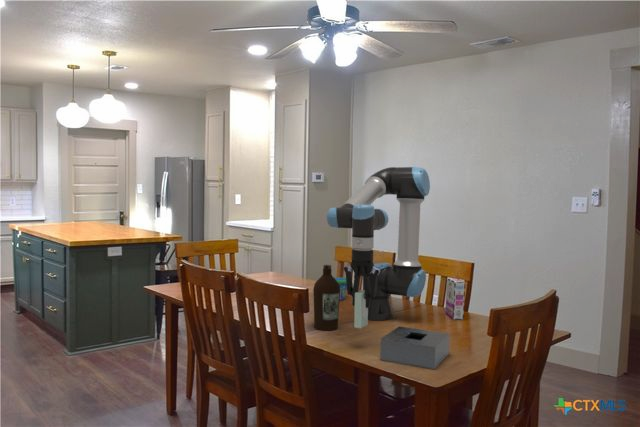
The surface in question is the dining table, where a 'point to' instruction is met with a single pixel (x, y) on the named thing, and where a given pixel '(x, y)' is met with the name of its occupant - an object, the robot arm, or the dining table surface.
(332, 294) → the olive oil
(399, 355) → the grey slotted box
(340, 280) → the snack cup
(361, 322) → the pale green flat block
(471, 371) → the dining table surface
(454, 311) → the candy bar box
